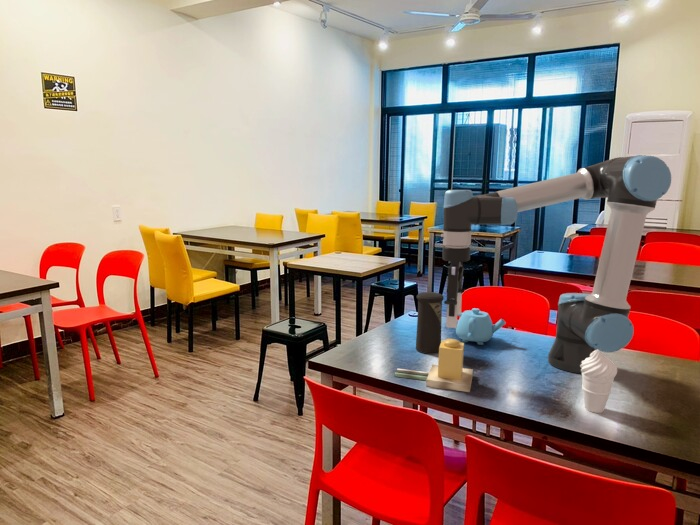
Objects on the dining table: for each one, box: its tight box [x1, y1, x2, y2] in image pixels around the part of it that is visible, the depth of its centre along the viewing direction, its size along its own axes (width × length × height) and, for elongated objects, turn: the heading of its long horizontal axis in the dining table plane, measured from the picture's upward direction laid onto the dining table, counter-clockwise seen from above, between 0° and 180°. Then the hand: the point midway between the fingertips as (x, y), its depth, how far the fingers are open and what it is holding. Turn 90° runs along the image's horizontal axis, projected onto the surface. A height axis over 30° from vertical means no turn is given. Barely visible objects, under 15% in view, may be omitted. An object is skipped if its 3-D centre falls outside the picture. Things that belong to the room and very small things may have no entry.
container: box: [415, 291, 445, 355], centre depth 164 cm, size 9×9×20 cm
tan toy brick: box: [437, 338, 465, 380], centre depth 139 cm, size 6×6×10 cm
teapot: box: [454, 307, 507, 346], centre depth 175 cm, size 20×17×12 cm
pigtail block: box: [393, 364, 474, 393], centre depth 141 cm, size 22×12×8 cm, turn 72°
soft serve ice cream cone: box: [580, 349, 618, 414], centre depth 122 cm, size 8×8×16 cm
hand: (454, 320), depth 137 cm, fingers open, 13 cm apart
